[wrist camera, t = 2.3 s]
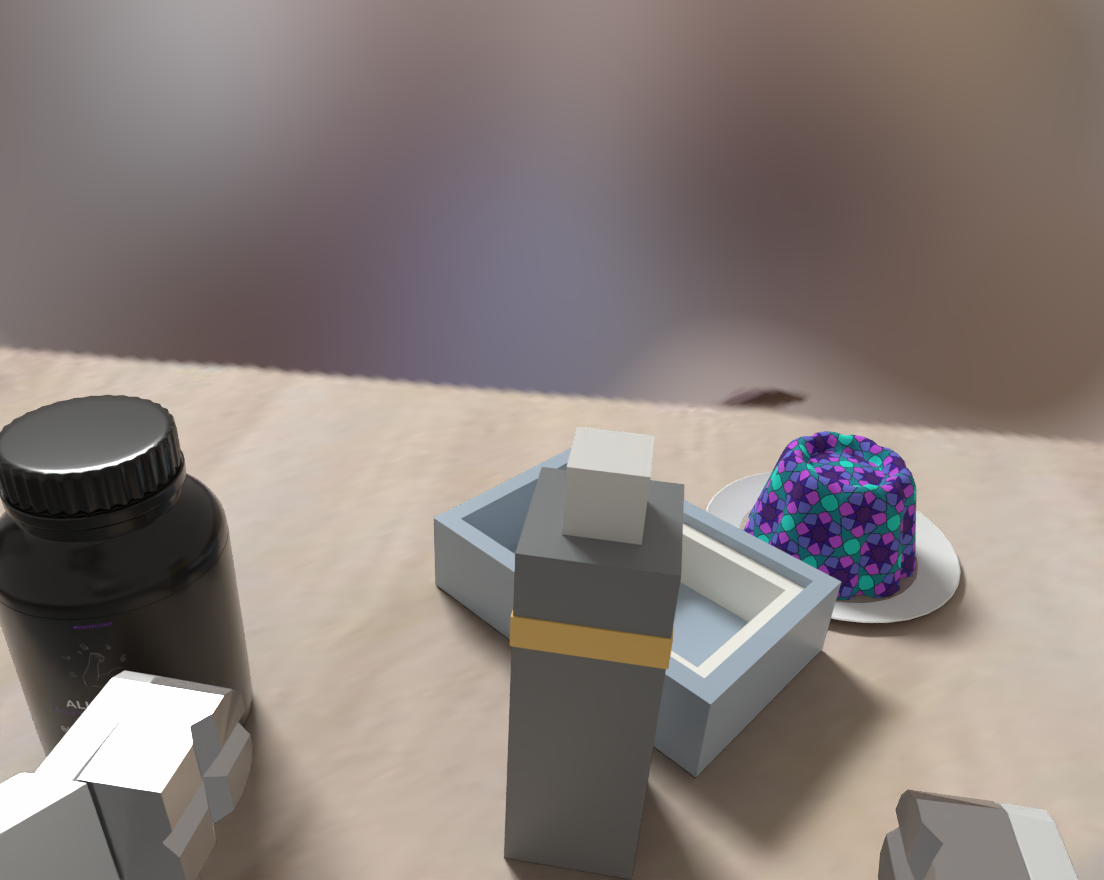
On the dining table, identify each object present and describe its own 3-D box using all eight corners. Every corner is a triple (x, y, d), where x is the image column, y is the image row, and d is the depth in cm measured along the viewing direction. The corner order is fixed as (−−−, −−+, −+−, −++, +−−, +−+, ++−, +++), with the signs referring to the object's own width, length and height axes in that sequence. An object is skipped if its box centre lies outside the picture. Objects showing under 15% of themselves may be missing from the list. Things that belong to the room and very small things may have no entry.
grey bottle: (502, 858, 27) (515, 485, 20) (525, 752, 30) (543, 402, 23) (633, 881, 26) (695, 507, 19) (641, 771, 30) (696, 421, 23)
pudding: (689, 476, 47) (703, 391, 44) (907, 489, 47) (934, 405, 44) (719, 627, 37) (739, 528, 34) (998, 644, 37) (1040, 547, 34)
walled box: (435, 584, 38) (433, 517, 36) (573, 505, 44) (577, 444, 42) (695, 777, 30) (710, 704, 28) (822, 649, 35) (841, 581, 34)
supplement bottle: (114, 844, 26) (9, 531, 20) (11, 730, 30) (-105, 434, 24) (296, 712, 31) (255, 427, 25) (189, 627, 35) (130, 358, 29)
